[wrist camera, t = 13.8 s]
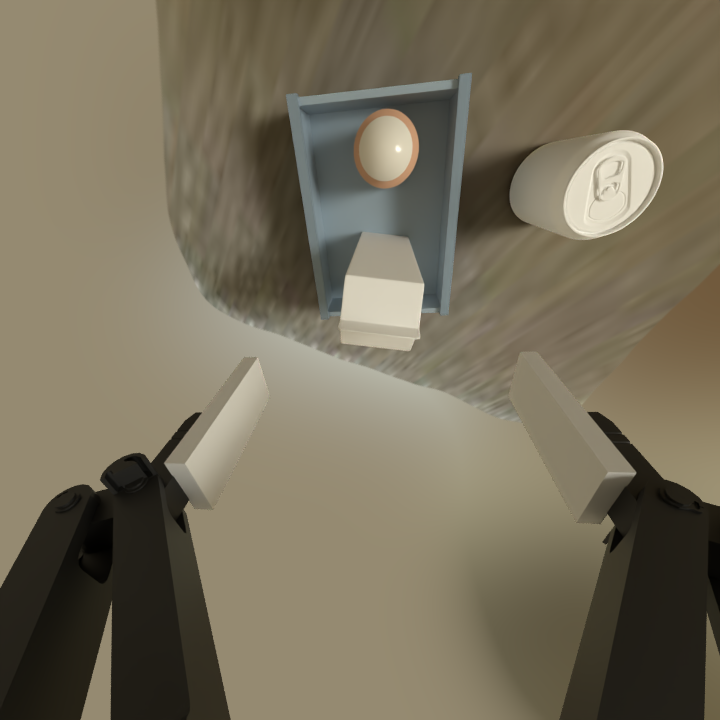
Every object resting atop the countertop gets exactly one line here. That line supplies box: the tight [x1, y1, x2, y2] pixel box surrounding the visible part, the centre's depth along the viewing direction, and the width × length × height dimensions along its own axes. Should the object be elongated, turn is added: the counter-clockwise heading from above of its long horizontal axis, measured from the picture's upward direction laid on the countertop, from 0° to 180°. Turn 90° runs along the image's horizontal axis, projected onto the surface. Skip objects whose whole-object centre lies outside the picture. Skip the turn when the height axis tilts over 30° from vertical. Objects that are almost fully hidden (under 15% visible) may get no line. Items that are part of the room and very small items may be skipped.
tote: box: [286, 73, 472, 320], centre depth 34 cm, size 22×16×6 cm
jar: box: [354, 109, 419, 189], centre depth 30 cm, size 6×6×8 cm
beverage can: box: [509, 130, 663, 240], centre depth 29 cm, size 8×8×12 cm
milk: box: [338, 232, 424, 351], centre depth 30 cm, size 6×6×22 cm
